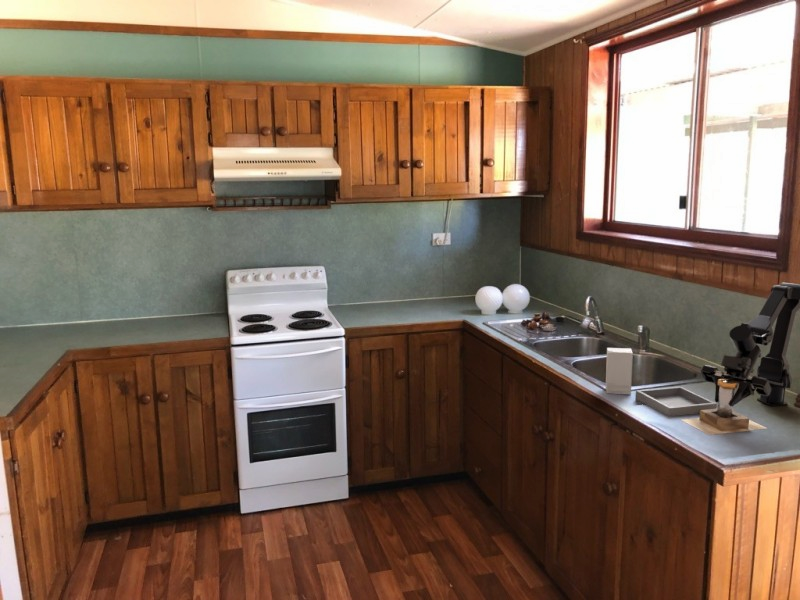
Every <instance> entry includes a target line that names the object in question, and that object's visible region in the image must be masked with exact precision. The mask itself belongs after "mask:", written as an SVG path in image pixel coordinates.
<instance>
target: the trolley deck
mask: <svg viewBox="0 0 800 600" xmlns="http://www.w3.org/2000/svg"><path fill="white" fill-rule="evenodd" d="M681 421H682V422H684V423H685V424H687V425H689V426H691V427H693V428H695V429H697V430H698V431H700V432H702V433H704V434H706V435H708V436H713V435H723V434H727V433H728V434H730V433H738V432H739V433H741V432H749V431H758V430H765V429H768V428H767V427H765V426H764V425H761V424H759V423H757V422H755V421H753V420H751V419H750V418H749V417H747V416H745V415H743V414H741V413H738V412H736V411H734V410H733V411H732V417H730V418H722V417H720V416H718V415H717V408H716V409H708V410H700V413H699V417H696V418H695V417H694V418H683V419H681Z"/></svg>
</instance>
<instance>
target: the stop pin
mask: <svg viewBox="0 0 800 600" xmlns="http://www.w3.org/2000/svg"><path fill="white" fill-rule="evenodd" d="M718 385H719V386H720V388H719V397H718V402H717V408H716V409H717V415H718V416H720V417H722V418H730V417H732V411H734V406H730V403H731V400H732V398H733V397H734V395H735V393H736V392H735V390H736V389H738V387H739V384H738V382H737V381H734V380H730V379H719V380H718Z"/></svg>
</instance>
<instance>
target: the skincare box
mask: <svg viewBox="0 0 800 600" xmlns="http://www.w3.org/2000/svg"><path fill="white" fill-rule="evenodd" d="M633 357H634V353H633V350H632V348H631V347H630V348H628V347H627V348H626V347H625V348H624V347H622V348H621V347H606V363H605V364H606V367H605V368H606V369H605V391H606V394H616V395H617V394H618V395H631V394H632V378H633V377H632V376H633V359H634V358H633Z"/></svg>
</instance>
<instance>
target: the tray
mask: <svg viewBox="0 0 800 600" xmlns="http://www.w3.org/2000/svg"><path fill="white" fill-rule="evenodd" d="M634 399H635V400H634V401H635V402H637V403H638V402H639V403H638V404H640V403H641V404H640V405H642V404H643V406H647V405H648V406H649V407H651V408H653V409H655V410H656V411H658V412H660V413H662V414H664V415H665V416H668V417H673V416H674V417H675V416H684V415H693V414H700V410H708V409H717V407H718V402H715V401H712V400H711V399H708V398H706V397H704V396H702V395H699V394H697V393H695V392H693V391H692V390H689V389H687V388H685V387H684V386H683V387H682V386H671V387H658V388H650V389H649V388H648V389H639V390H635V398H634Z"/></svg>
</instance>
